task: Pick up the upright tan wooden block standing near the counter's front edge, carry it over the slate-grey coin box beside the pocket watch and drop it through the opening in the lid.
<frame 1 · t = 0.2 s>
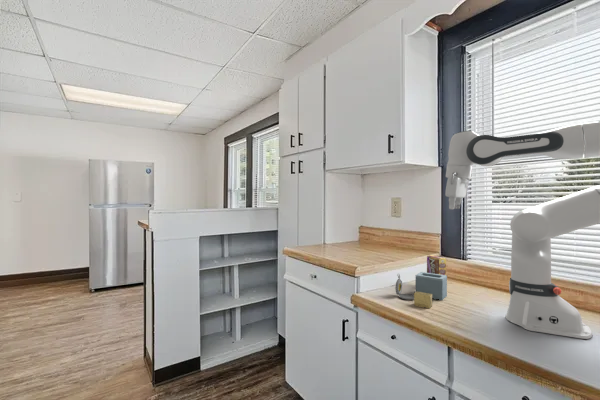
hand: (454, 209, 121), 38 cm above the counter, tool pointing down, fingers open, 8 cm apart
candy box: (436, 289, 146), on the counter
coin box: (431, 295, 135), on the counter
tan wooden block: (423, 306, 122), on the counter
pocket watch: (404, 298, 133), on the counter
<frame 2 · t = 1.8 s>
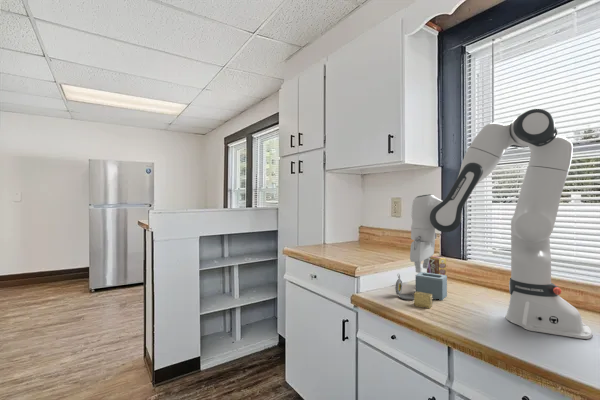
hand: (422, 270, 123), 14 cm above the counter, tool pointing down, fingers open, 8 cm apart
nothing on the counter moved.
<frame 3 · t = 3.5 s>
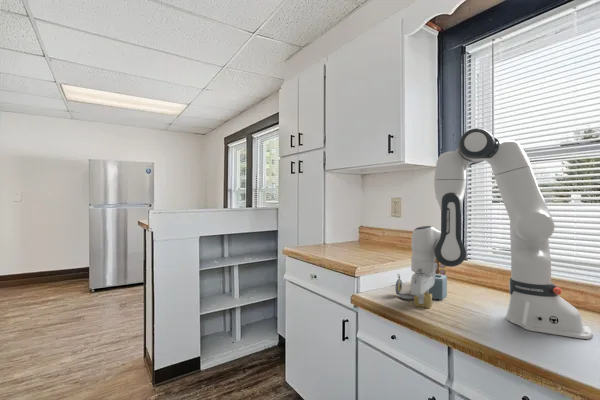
hand: (423, 301, 122), 2 cm above the counter, tool pointing down, fingers closed on tan wooden block, 3 cm apart
tan wooden block: (423, 305, 122), on the counter, touching gripper
everything else where it was.
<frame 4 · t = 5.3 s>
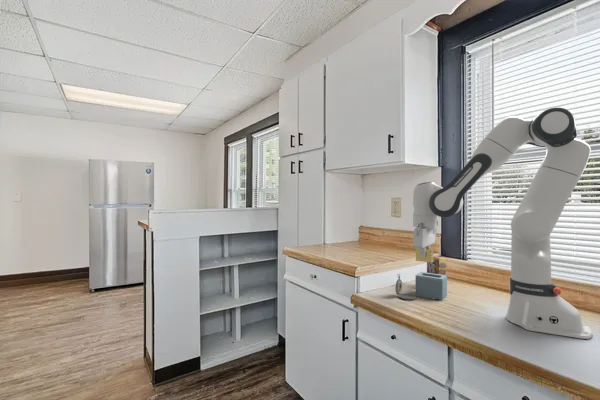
hand: (424, 256, 124), 19 cm above the counter, tool pointing down, fingers closed on tan wooden block, 3 cm apart
tan wooden block: (424, 260, 124), point 17 cm above the counter, touching gripper
everything else where it was.
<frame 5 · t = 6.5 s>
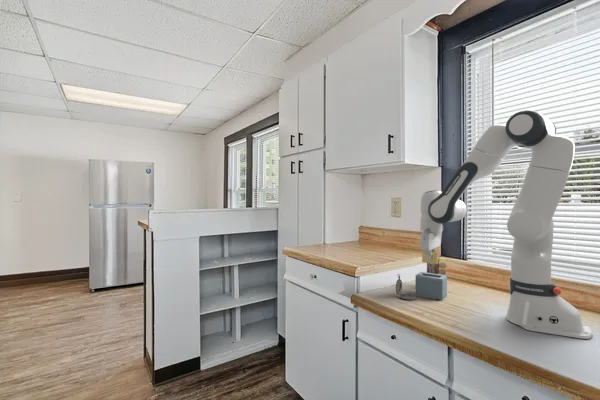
hand: (430, 259, 135), 16 cm above the counter, tool pointing down, fingers closed on tan wooden block, 3 cm apart
tan wooden block: (430, 262, 136), point 14 cm above the counter, touching gripper
everything else where it was.
when the fingers open (12 cm above the counter, at t = 7.1 s): tan wooden block drops 10 cm, resting on coin box.
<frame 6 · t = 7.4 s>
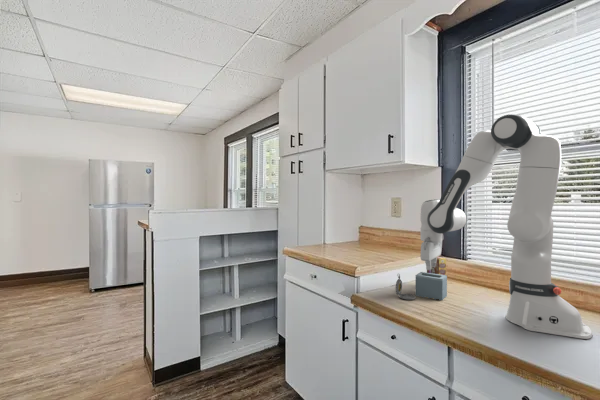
hand: (431, 268, 135), 12 cm above the counter, tool pointing down, fingers open, 6 cm apart
tan wooden block: (431, 294, 135), point 1 cm above the counter, touching coin box
everything else where it was.
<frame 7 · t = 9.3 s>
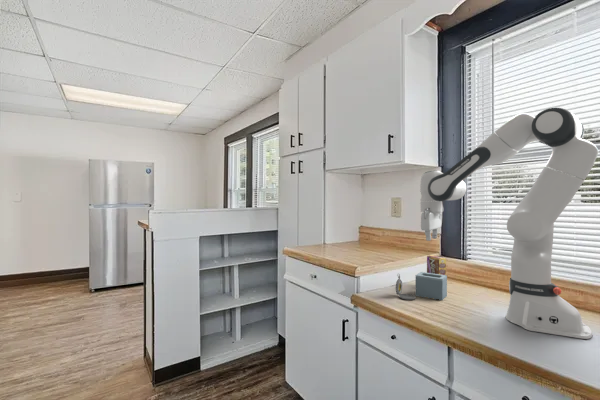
hand: (431, 239, 135), 25 cm above the counter, tool pointing down, fingers open, 8 cm apart
nothing on the counter moved.
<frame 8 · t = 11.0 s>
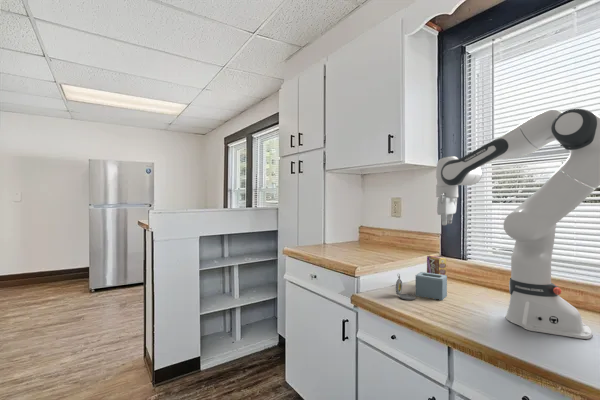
hand: (446, 224, 137), 31 cm above the counter, tool pointing down, fingers open, 8 cm apart
nothing on the counter moved.
at the end: tan wooden block inside the target area on the coin box (0.0 cm from its centre), point 0.6 cm above the coin box's base; the gripper is holding nothing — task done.
